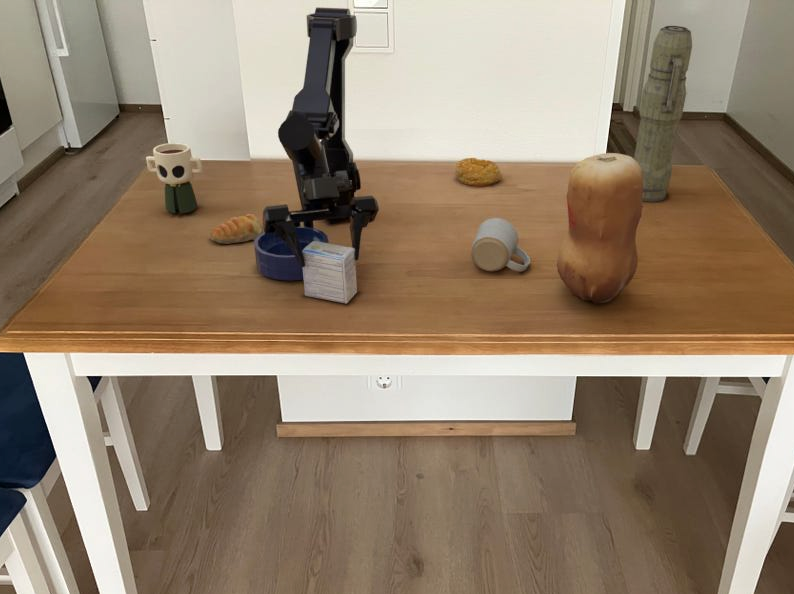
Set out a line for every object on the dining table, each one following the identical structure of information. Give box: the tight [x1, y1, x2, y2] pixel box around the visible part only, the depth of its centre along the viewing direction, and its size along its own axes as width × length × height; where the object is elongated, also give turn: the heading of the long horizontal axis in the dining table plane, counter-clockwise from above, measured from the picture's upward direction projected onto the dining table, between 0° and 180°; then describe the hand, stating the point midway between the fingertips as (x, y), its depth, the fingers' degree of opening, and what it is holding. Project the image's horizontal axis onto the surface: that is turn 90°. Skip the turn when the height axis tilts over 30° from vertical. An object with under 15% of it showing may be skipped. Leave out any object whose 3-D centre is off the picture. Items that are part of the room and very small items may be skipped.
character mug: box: [145, 142, 204, 214], centre depth 157 cm, size 11×7×13 cm, turn 90°
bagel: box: [453, 157, 503, 187], centre depth 178 cm, size 10×11×5 cm
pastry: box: [210, 213, 263, 245], centre depth 149 cm, size 9×7×4 cm
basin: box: [253, 225, 330, 282], centre depth 140 cm, size 13×13×5 cm
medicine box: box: [302, 241, 358, 305], centre depth 130 cm, size 8×4×9 cm, turn 71°
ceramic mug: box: [470, 217, 531, 272], centre depth 141 cm, size 11×8×8 cm
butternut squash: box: [556, 152, 644, 304], centre depth 127 cm, size 14×13×25 cm
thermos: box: [633, 25, 693, 203], centre depth 165 cm, size 9×12×35 cm
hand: (330, 263), depth 128 cm, fingers closed on medicine box, 8 cm apart
